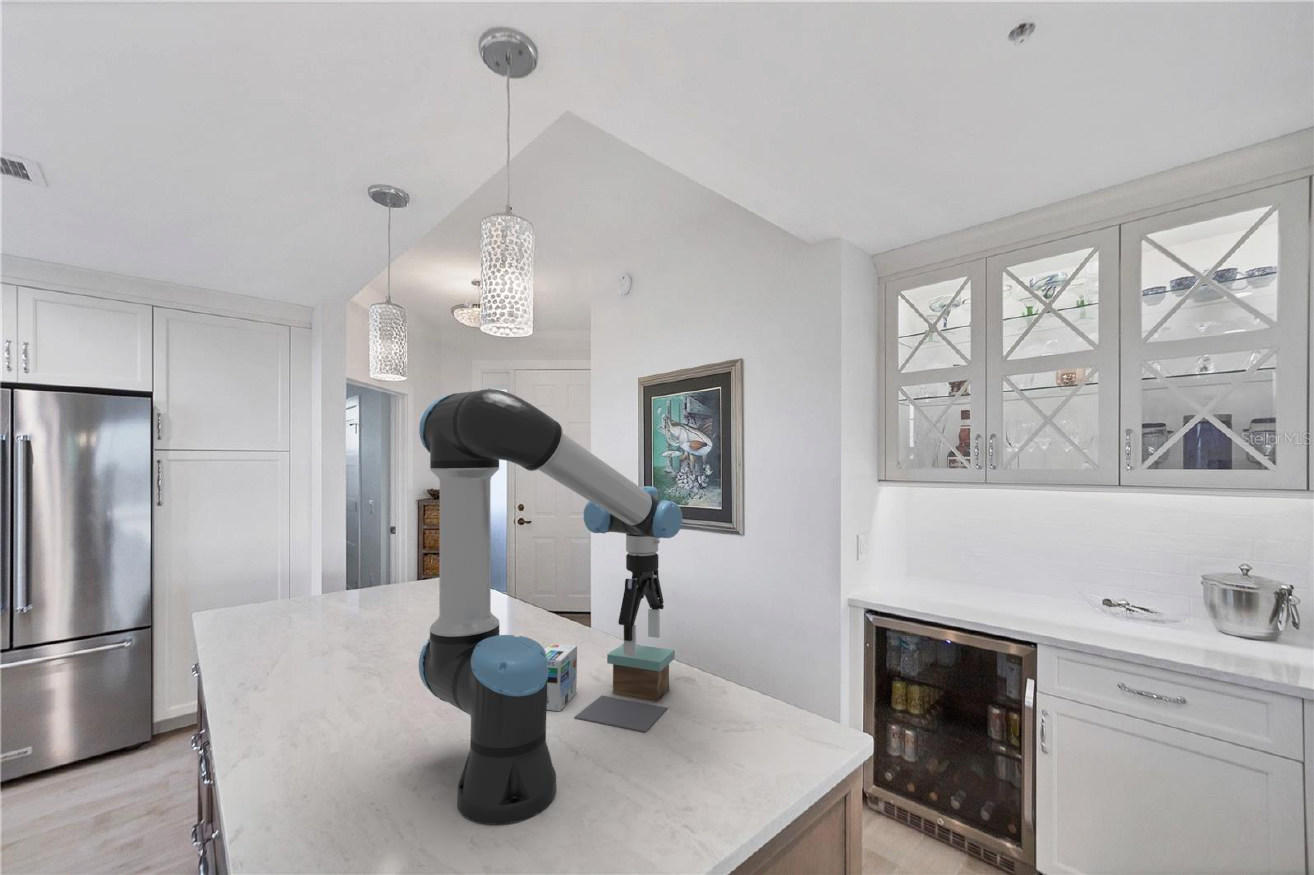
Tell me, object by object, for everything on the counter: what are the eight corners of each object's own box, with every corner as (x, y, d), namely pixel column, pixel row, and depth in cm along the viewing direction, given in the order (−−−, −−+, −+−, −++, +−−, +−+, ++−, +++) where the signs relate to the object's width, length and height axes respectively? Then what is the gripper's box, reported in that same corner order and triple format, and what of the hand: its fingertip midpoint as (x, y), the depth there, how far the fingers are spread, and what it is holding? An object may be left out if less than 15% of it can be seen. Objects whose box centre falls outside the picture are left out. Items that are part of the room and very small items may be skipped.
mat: (645, 732, 112) (645, 731, 112) (574, 718, 118) (574, 716, 118) (668, 708, 123) (668, 707, 123) (601, 696, 129) (601, 695, 129)
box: (657, 701, 127) (657, 669, 127) (612, 693, 131) (613, 662, 131) (668, 690, 133) (669, 659, 134) (626, 683, 138) (626, 653, 138)
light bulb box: (560, 712, 121) (561, 660, 122) (530, 709, 123) (531, 658, 123) (577, 692, 132) (578, 645, 132) (549, 690, 133) (550, 643, 133)
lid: (660, 676, 126) (660, 662, 126) (607, 667, 131) (607, 654, 131) (674, 663, 134) (674, 650, 134) (624, 655, 139) (624, 643, 139)
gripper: (634, 563, 121) (634, 665, 120) (676, 546, 144) (676, 632, 143) (602, 560, 124) (602, 660, 123) (648, 544, 147) (648, 628, 146)
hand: (642, 645), depth 133 cm, fingers open, 13 cm apart
